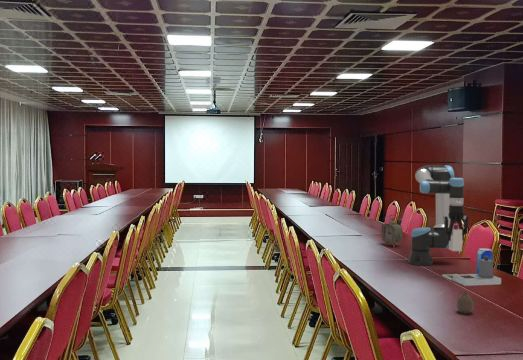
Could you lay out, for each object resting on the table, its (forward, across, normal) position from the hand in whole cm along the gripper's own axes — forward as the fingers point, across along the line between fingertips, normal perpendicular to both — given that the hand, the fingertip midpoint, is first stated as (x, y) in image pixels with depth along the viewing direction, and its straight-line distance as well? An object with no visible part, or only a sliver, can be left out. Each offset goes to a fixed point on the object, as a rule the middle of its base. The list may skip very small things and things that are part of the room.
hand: (455, 246), depth 276 cm
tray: (+19, 0, +1) cm, 19 cm away
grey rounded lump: (+20, -20, -60) cm, 66 cm away
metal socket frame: (+19, +8, -9) cm, 23 cm away
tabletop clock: (+19, -5, +108) cm, 109 cm away
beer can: (+19, +20, +7) cm, 29 cm away
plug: (+2, 0, 0) cm, 2 cm away
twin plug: (+18, +13, -8) cm, 24 cm away
